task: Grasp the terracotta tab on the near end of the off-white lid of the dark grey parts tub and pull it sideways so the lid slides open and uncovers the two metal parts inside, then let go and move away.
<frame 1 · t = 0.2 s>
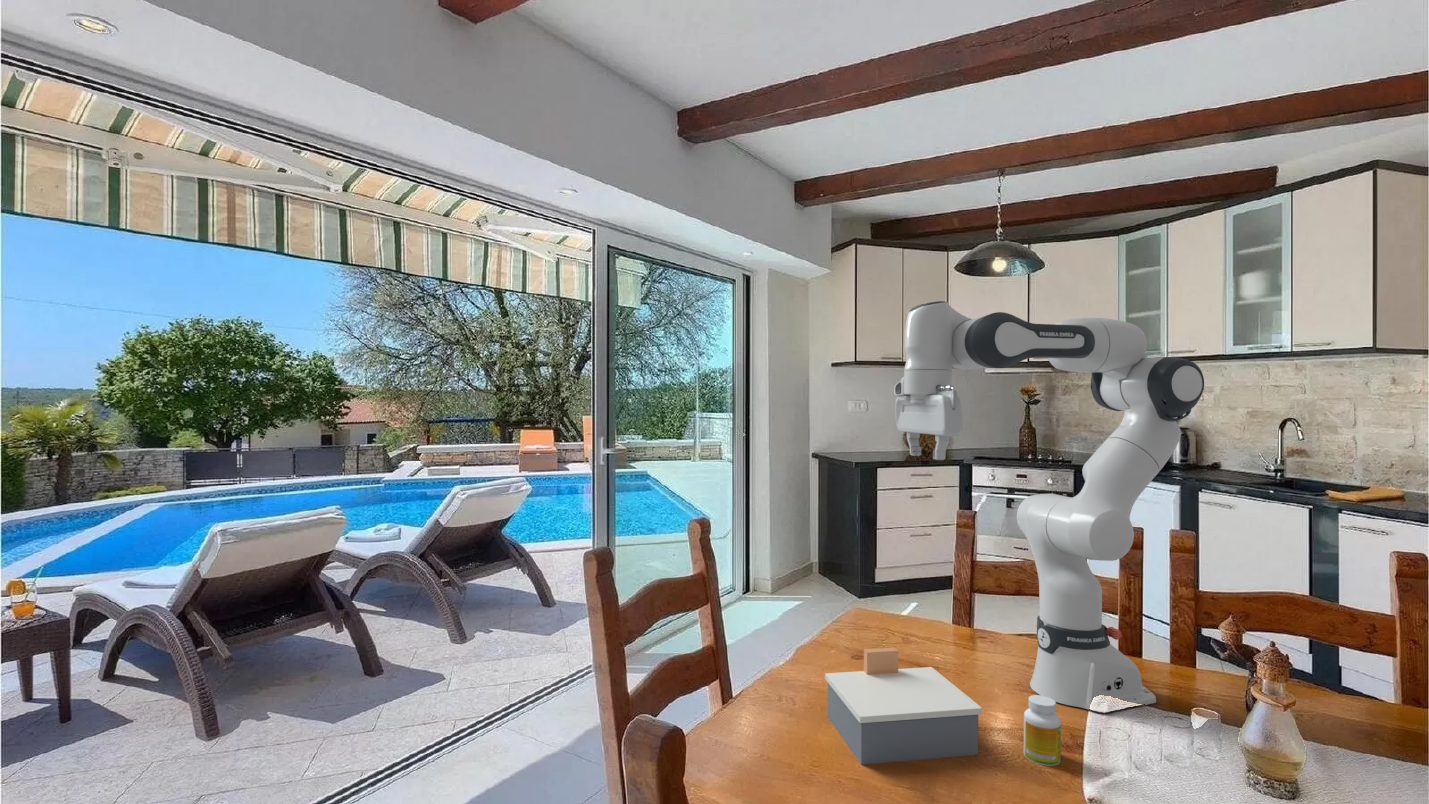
hand: (926, 457, 127), 47 cm above the table, tool pointing down, fingers open, 8 cm apart
tub: (898, 738, 113), on the table
metal block part: (934, 741, 111), point 1 cm above the table, touching tub
metal round part: (864, 728, 115), point 1 cm above the table, touching tub
lid: (899, 681, 113), point 10 cm above the table, slide at 0.0 cm
supplement bottle: (1041, 761, 106), on the table
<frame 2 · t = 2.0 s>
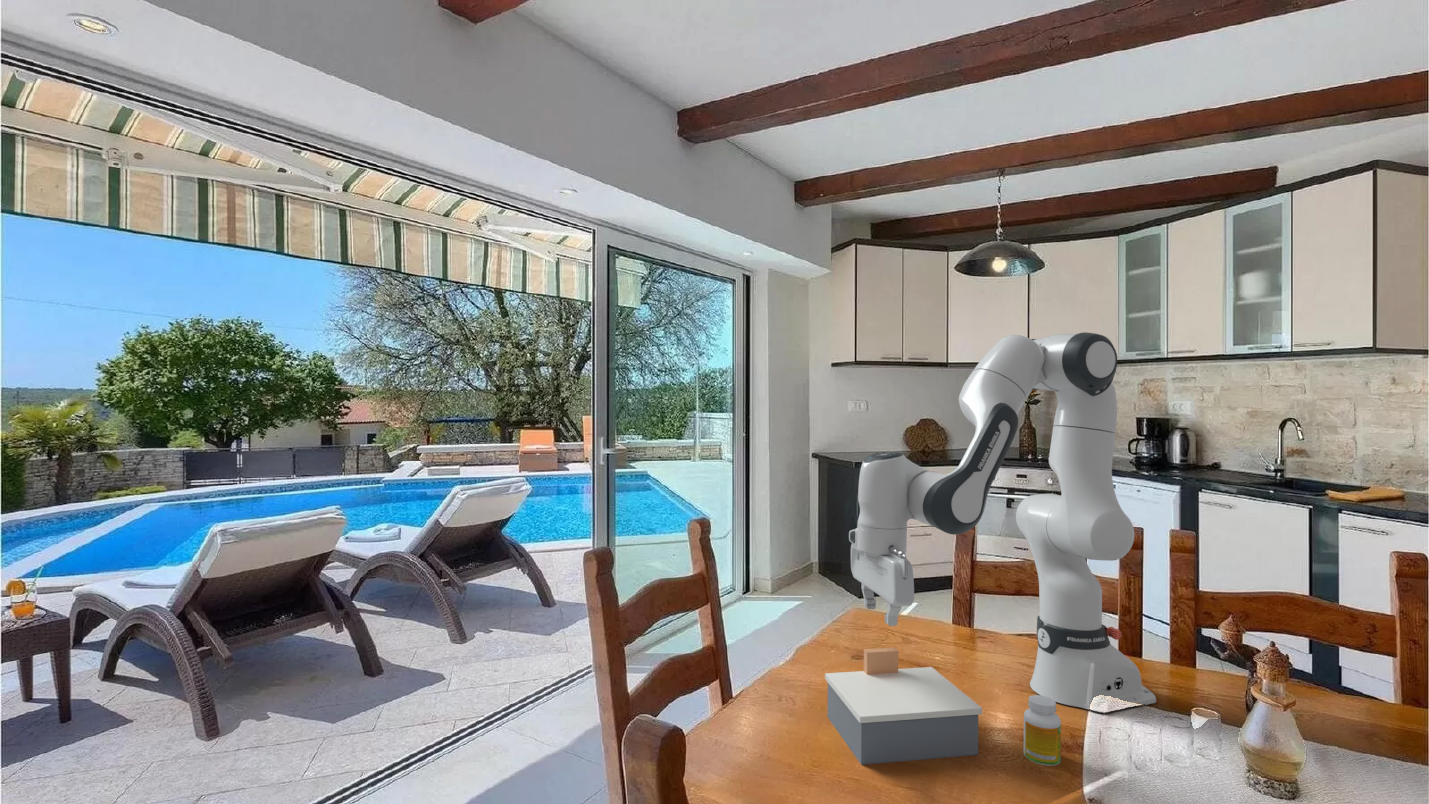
hand: (879, 616, 120), 19 cm above the table, tool pointing down, fingers open, 8 cm apart
nothing on the table moved.
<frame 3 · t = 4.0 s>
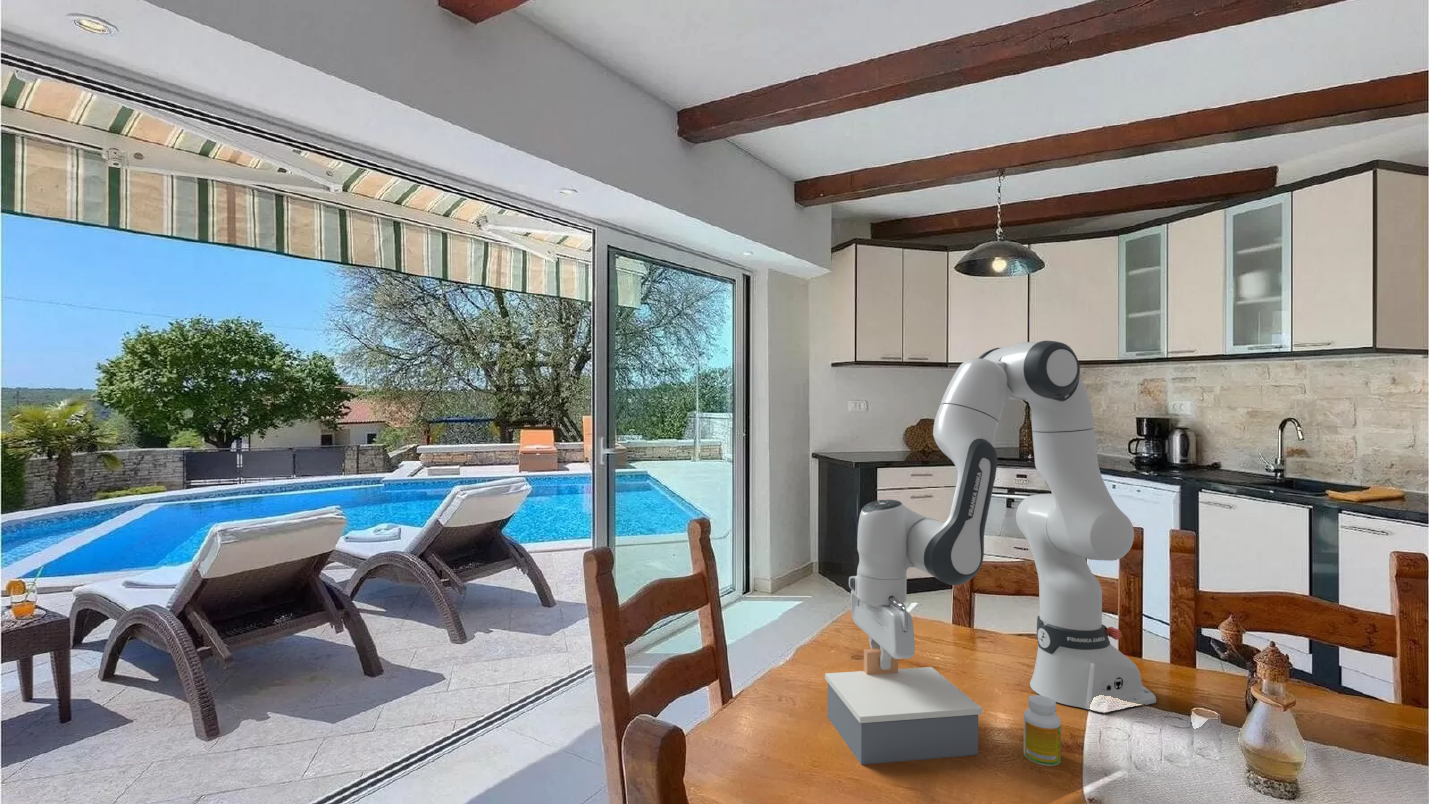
hand: (880, 664, 120), 10 cm above the table, tool pointing down, fingers closed on lid, 2 cm apart
lid: (899, 681, 113), point 10 cm above the table, slide at 0.0 cm, touching gripper
everything else where it was.
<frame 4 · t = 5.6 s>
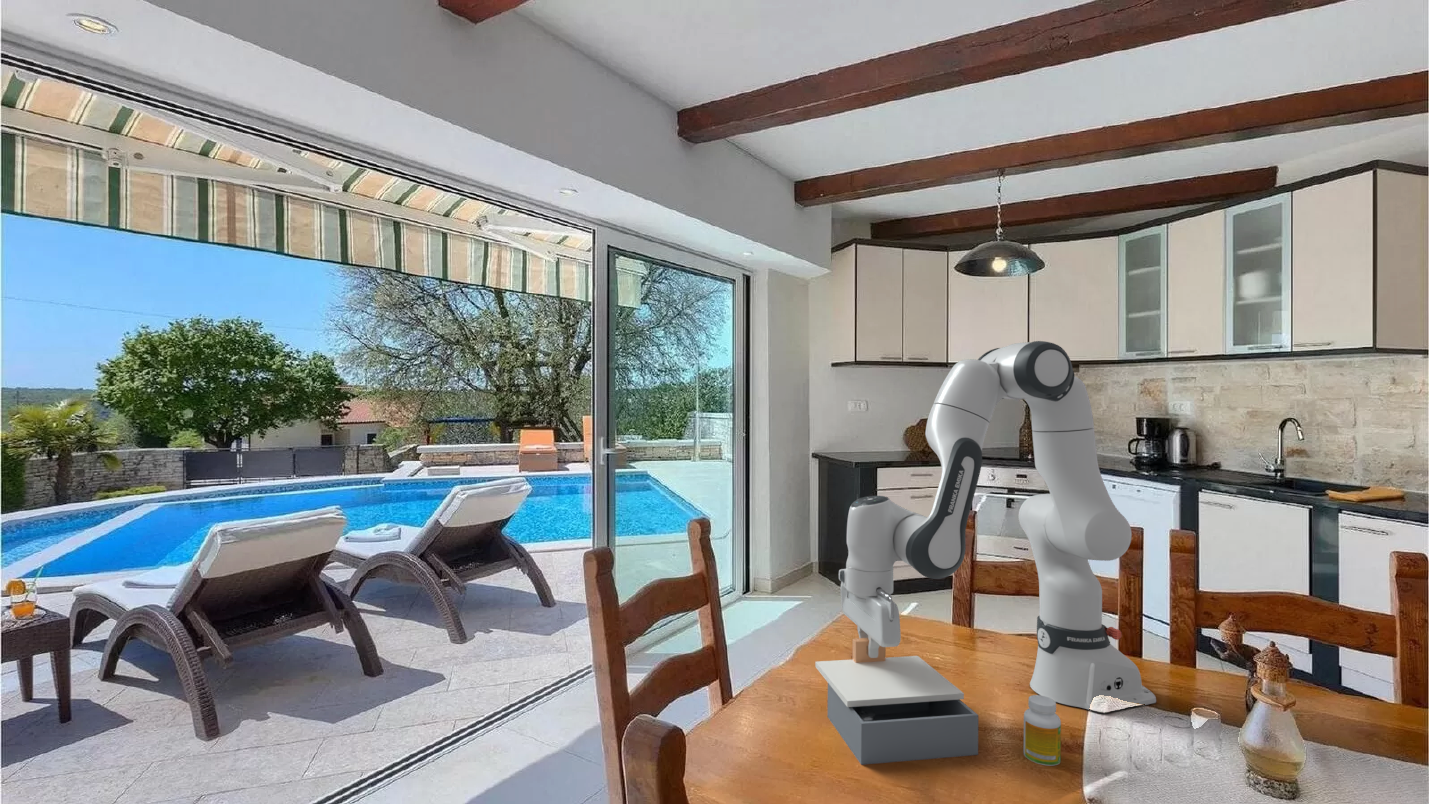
hand: (869, 653, 126), 10 cm above the table, tool pointing down, fingers closed on lid, 2 cm apart
lid: (885, 668, 118), point 10 cm above the table, slide at 5.5 cm, touching gripper
everything else where it was.
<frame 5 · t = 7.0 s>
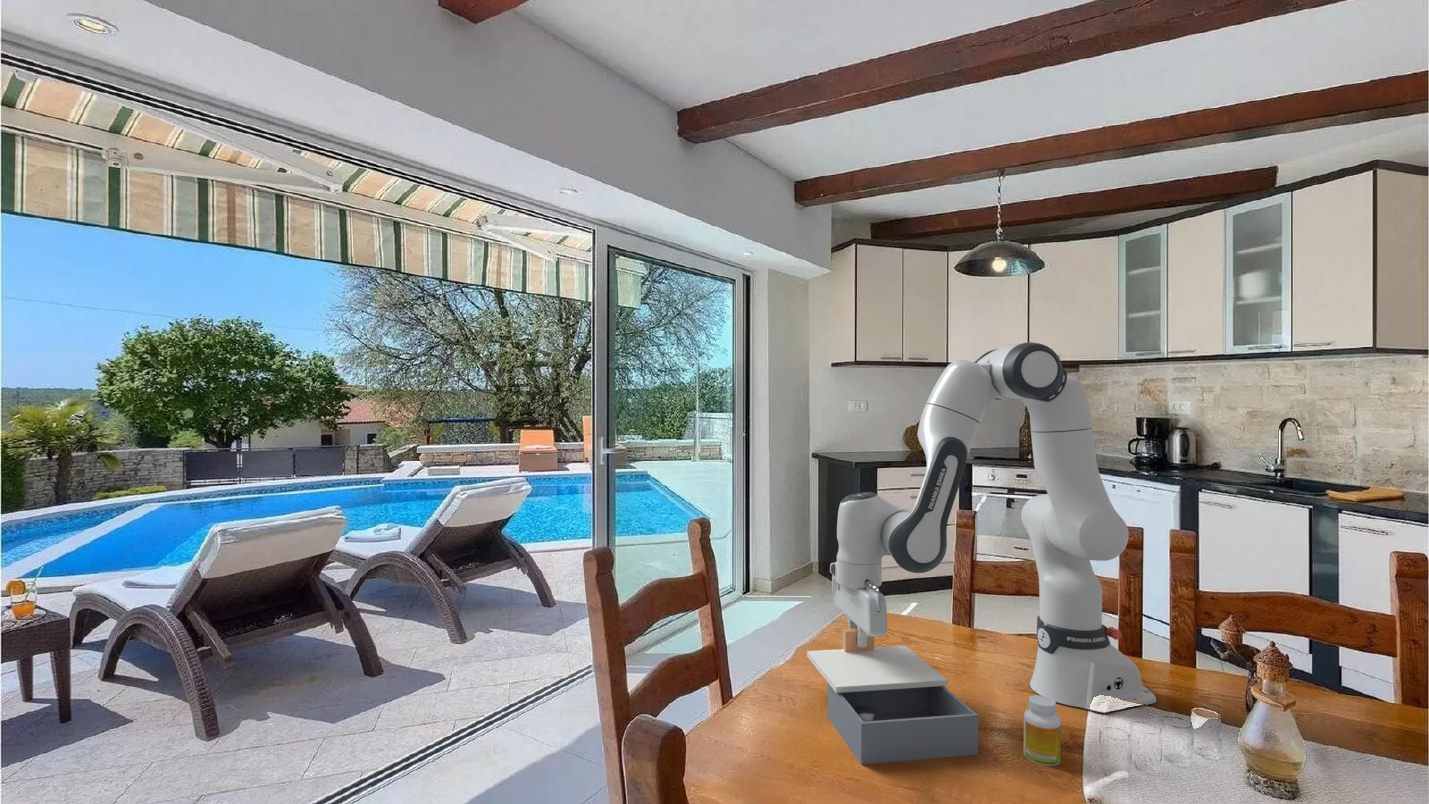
hand: (858, 643, 131), 10 cm above the table, tool pointing down, fingers closed on lid, 2 cm apart
lid: (873, 656, 124), point 10 cm above the table, slide at 10.9 cm, touching gripper
everything else where it was.
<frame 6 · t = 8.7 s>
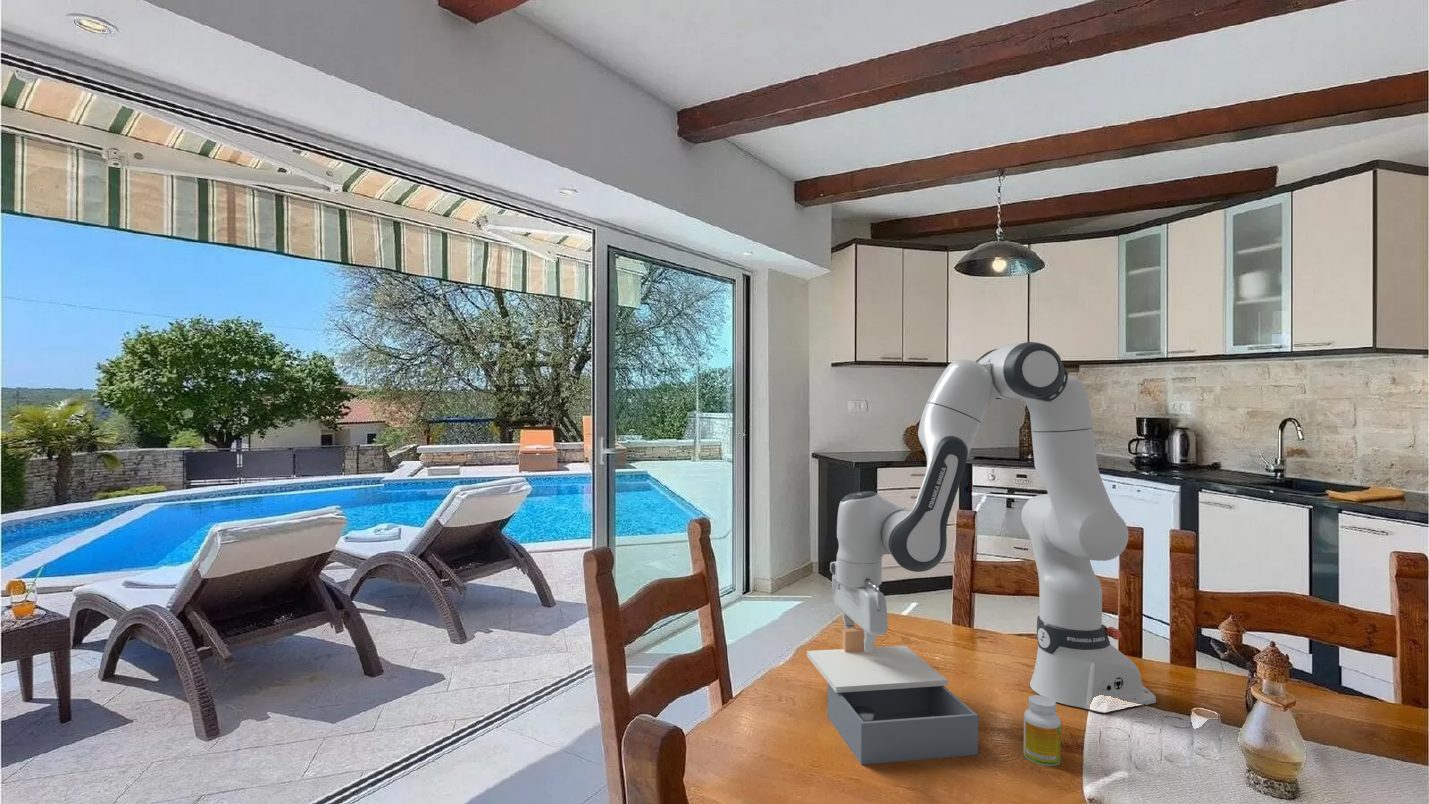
hand: (858, 642, 131), 10 cm above the table, tool pointing down, fingers open, 8 cm apart
lid: (873, 656, 124), point 10 cm above the table, slide at 11.0 cm
everything else where it was.
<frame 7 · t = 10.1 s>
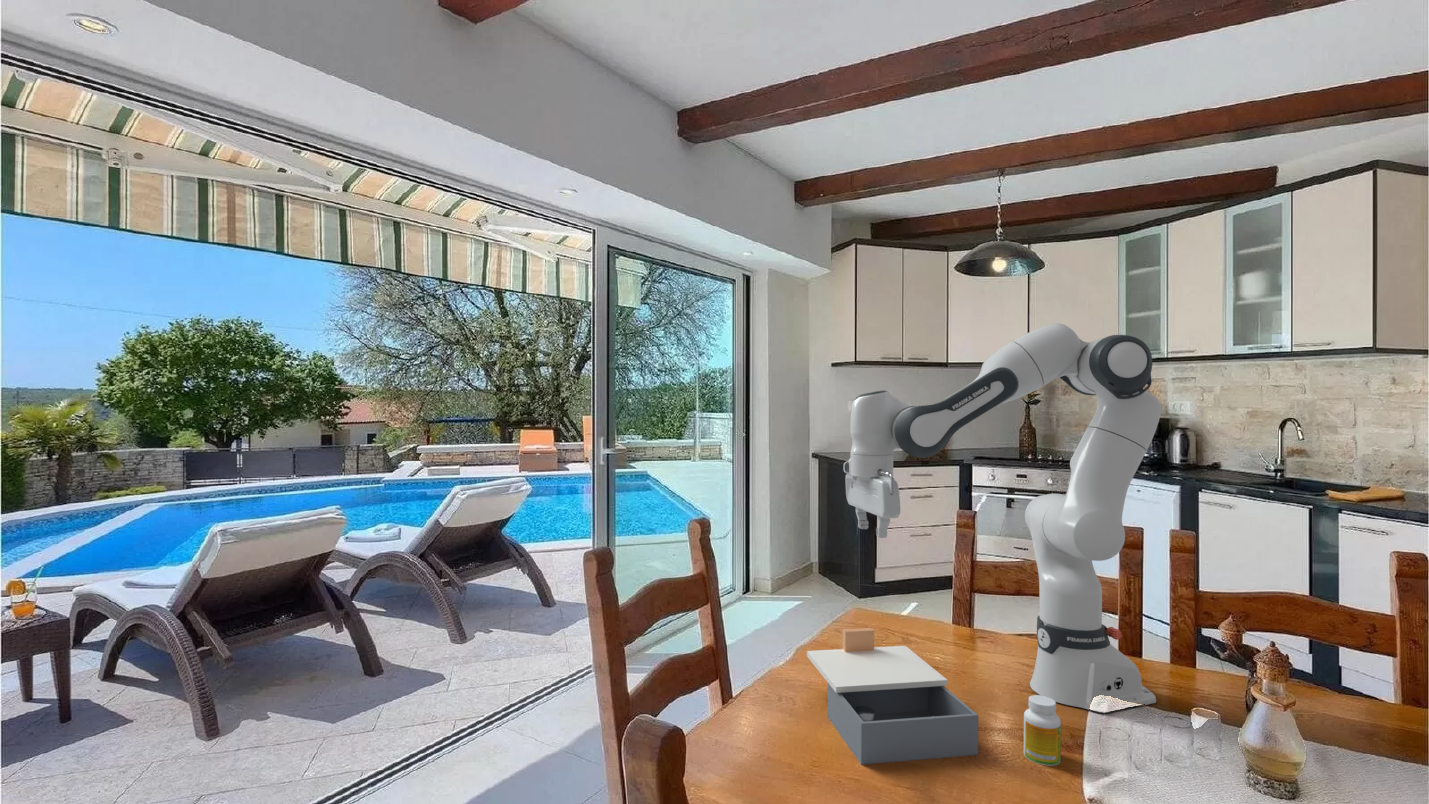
hand: (872, 532, 139), 30 cm above the table, tool pointing down, fingers open, 8 cm apart
nothing on the table moved.
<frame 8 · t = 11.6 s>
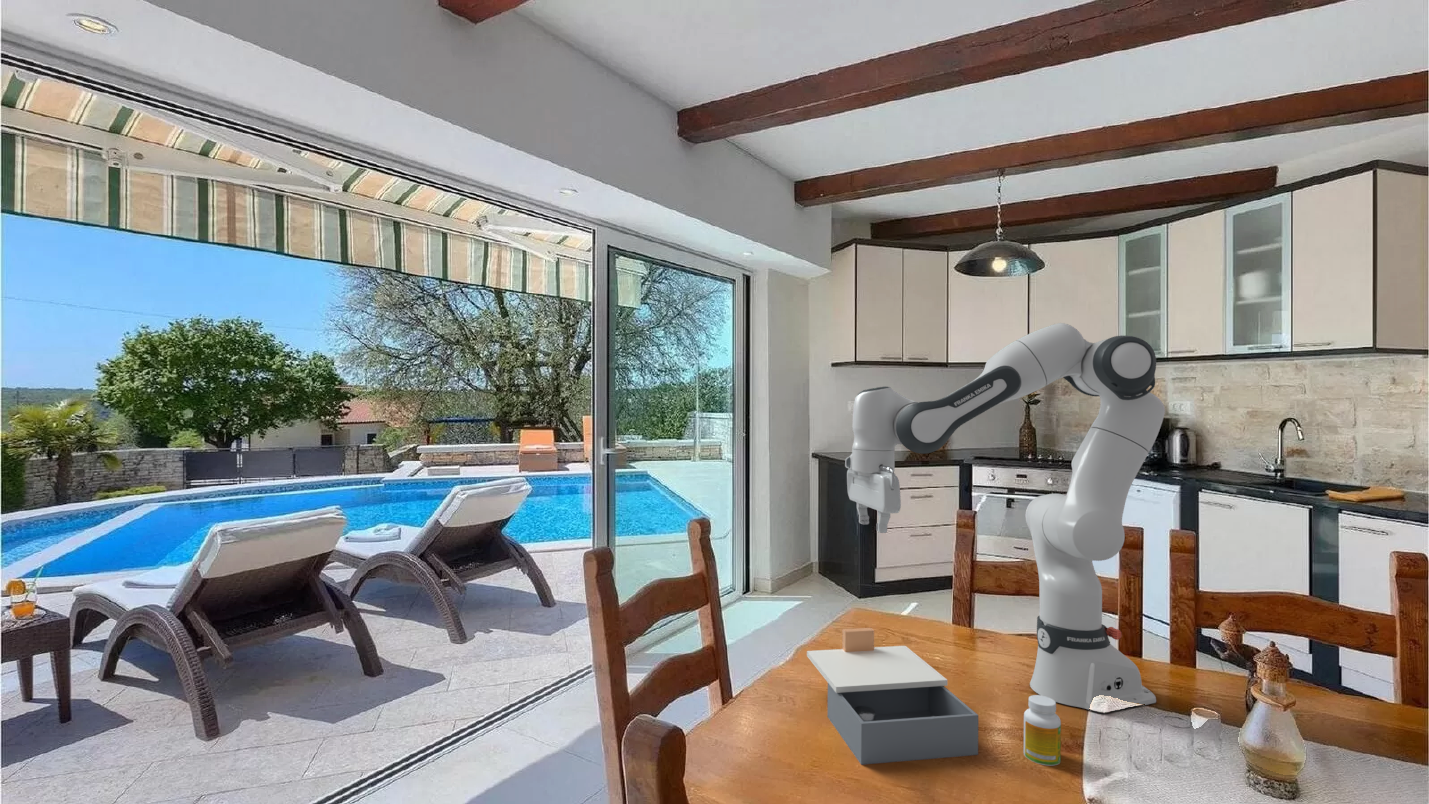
hand: (872, 528, 140), 31 cm above the table, tool pointing down, fingers open, 8 cm apart
nothing on the table moved.
at the end: lid slide at 11.0 cm; the gripper is holding nothing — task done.
